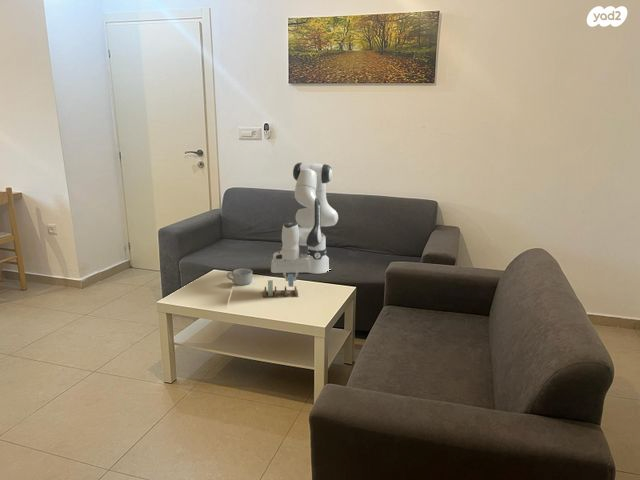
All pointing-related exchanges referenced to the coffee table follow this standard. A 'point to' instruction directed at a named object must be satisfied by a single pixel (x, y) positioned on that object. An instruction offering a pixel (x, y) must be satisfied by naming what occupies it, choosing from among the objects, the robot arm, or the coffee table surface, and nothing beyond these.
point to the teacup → (241, 276)
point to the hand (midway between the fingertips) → (290, 280)
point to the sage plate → (270, 287)
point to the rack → (281, 293)
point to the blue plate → (290, 279)
